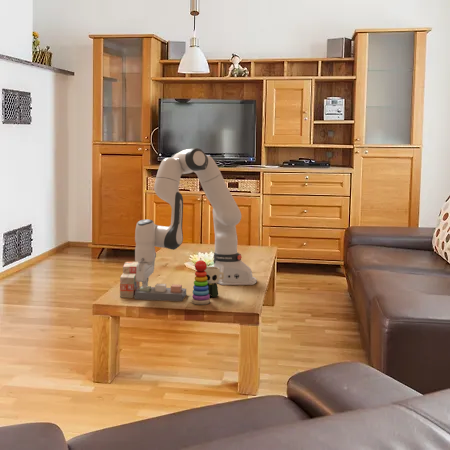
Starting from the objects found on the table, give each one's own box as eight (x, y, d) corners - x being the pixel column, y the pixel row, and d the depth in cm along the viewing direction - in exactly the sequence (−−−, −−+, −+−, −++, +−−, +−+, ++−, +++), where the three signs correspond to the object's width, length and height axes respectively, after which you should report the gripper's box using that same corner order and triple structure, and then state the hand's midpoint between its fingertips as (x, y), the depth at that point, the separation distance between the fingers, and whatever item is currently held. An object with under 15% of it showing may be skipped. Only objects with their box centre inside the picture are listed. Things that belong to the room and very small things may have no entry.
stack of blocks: (133, 298, 299) (133, 270, 297) (119, 297, 299) (119, 270, 297) (139, 286, 320) (139, 261, 318) (126, 286, 320) (126, 261, 318)
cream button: (166, 290, 302) (166, 284, 302) (164, 292, 298) (164, 286, 297) (157, 290, 302) (157, 283, 302) (155, 292, 298) (155, 285, 298)
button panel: (186, 295, 305) (186, 288, 304) (181, 301, 294) (182, 294, 294) (140, 293, 307) (140, 286, 307) (134, 299, 296) (134, 292, 296)
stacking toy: (191, 300, 295) (191, 258, 293) (209, 300, 296) (210, 258, 293) (191, 305, 287) (192, 262, 285) (210, 305, 288) (211, 262, 285)
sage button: (150, 292, 303) (150, 286, 303) (148, 295, 299) (148, 288, 298) (141, 292, 303) (141, 286, 303) (139, 294, 299) (139, 288, 299)
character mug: (198, 298, 300) (198, 269, 298) (199, 294, 307) (200, 266, 305) (223, 298, 299) (223, 270, 298) (223, 294, 307) (224, 266, 305)
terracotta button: (181, 291, 301) (181, 284, 301) (180, 293, 297) (180, 286, 297) (172, 290, 302) (172, 284, 301) (170, 293, 298) (170, 286, 297)
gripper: (146, 261, 288) (146, 293, 290) (156, 252, 308) (156, 282, 310) (132, 260, 289) (132, 292, 291) (143, 252, 309) (143, 281, 311)
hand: (145, 287), depth 301 cm, fingers closed, pressing on sage button
